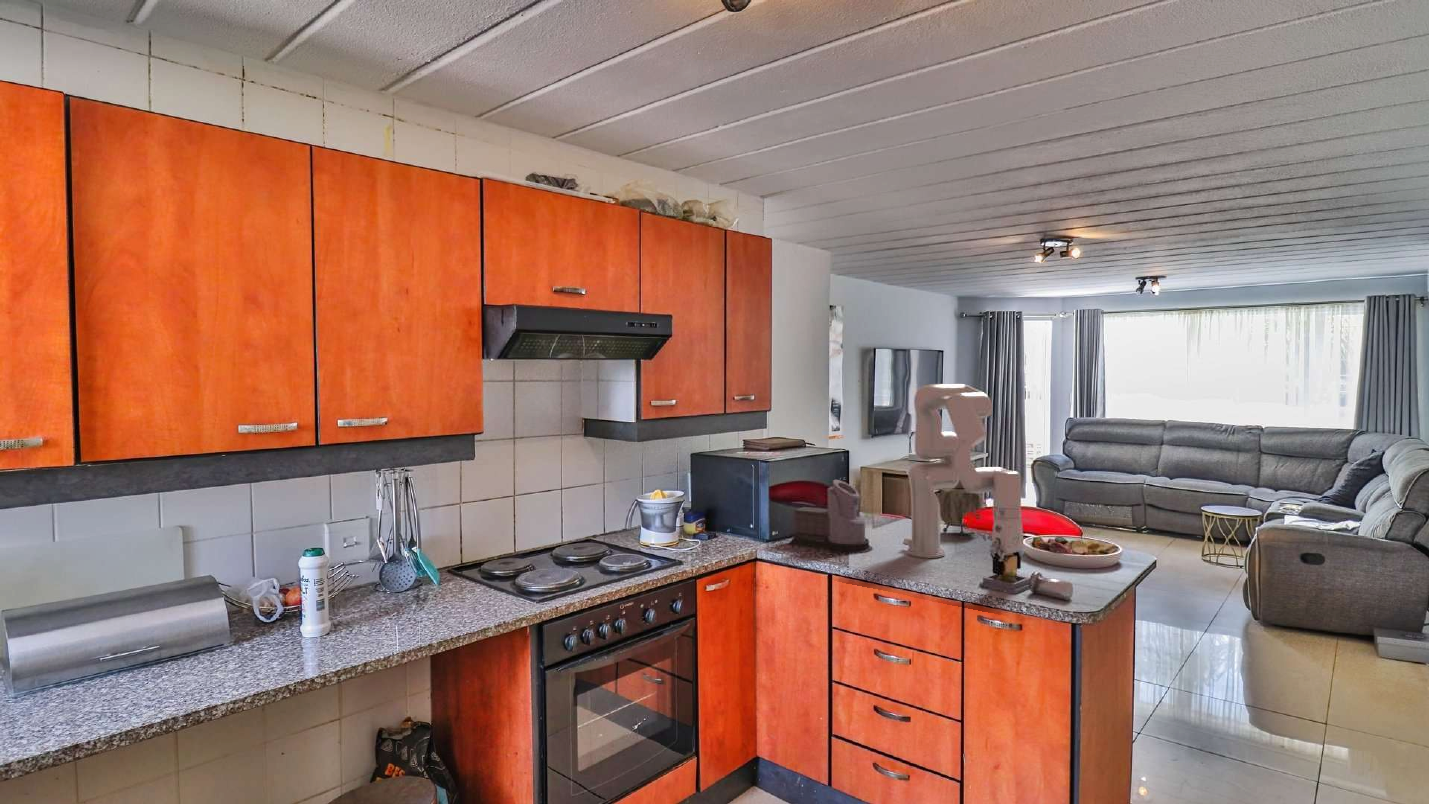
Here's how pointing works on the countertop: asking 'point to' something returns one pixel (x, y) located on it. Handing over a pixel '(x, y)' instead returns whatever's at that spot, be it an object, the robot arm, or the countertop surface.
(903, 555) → the countertop surface
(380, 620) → the countertop surface
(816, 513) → the juicer
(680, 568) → the countertop surface
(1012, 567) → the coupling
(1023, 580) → the grey square tray
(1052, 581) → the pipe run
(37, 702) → the countertop surface
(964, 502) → the tabletop clock
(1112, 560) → the bowl
